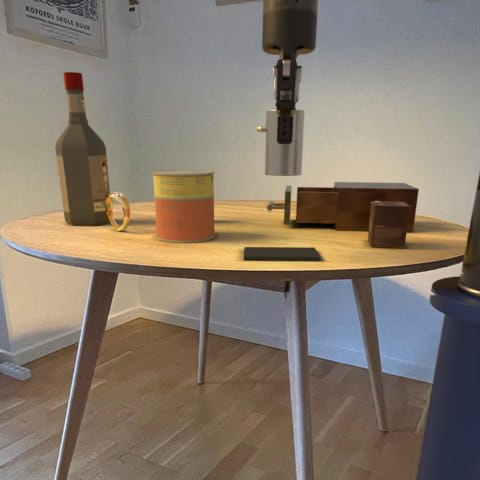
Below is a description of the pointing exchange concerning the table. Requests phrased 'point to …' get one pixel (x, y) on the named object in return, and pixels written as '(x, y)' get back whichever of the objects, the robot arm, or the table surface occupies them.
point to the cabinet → (359, 202)
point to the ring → (125, 206)
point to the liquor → (81, 162)
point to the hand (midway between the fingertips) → (285, 143)
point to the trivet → (281, 253)
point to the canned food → (184, 205)
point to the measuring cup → (283, 146)
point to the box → (388, 224)
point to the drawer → (310, 205)
